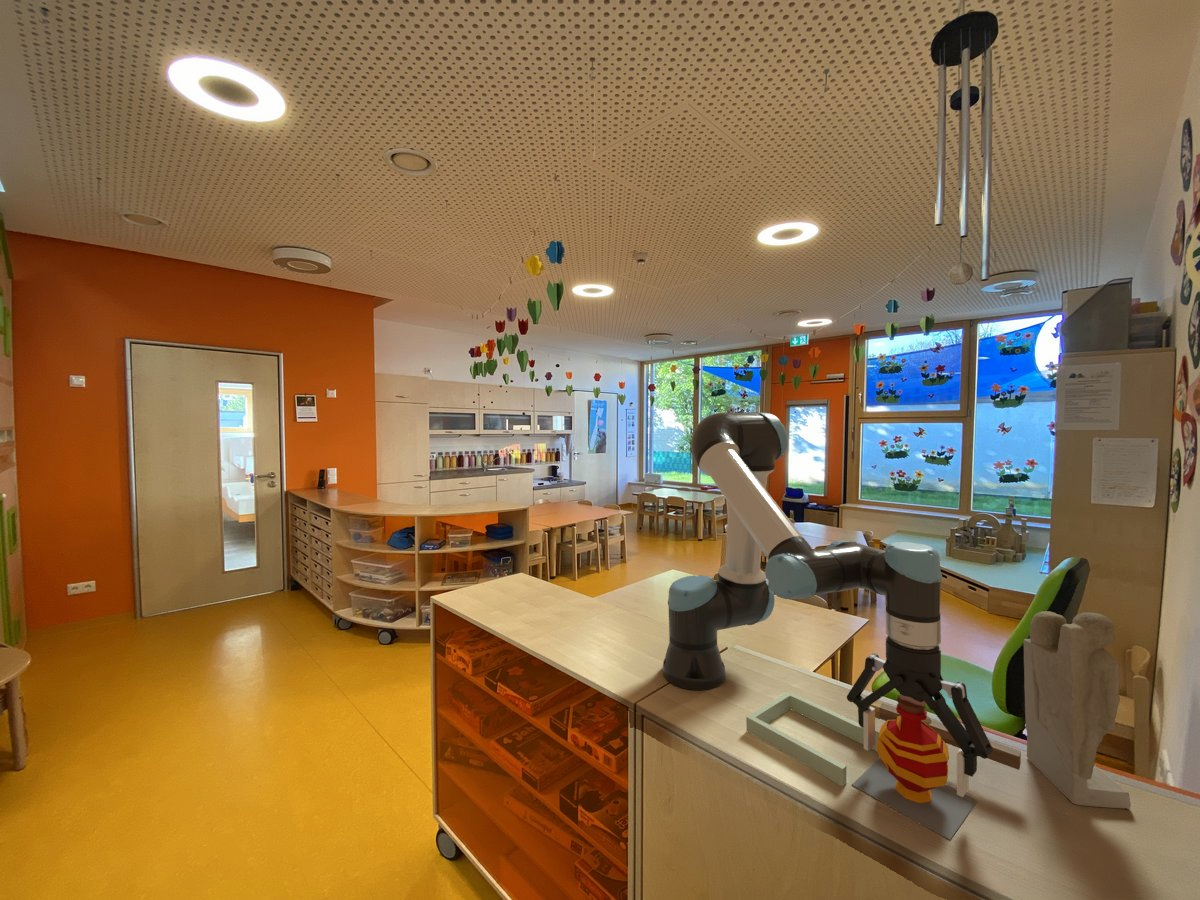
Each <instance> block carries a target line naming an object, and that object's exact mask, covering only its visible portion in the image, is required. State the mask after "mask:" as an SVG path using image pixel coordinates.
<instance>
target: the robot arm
mask: <svg viewBox="0 0 1200 900" xmlns="http://www.w3.org/2000/svg"><path fill="white" fill-rule="evenodd" d="M693 430H694V431H693V433H692V436H691V441H690V449H691V455H692V458H693V460H694V461H695V464H696V466H697V467H698V469H699V470H700V471H701V473H702V474H704V475H705V476H709V477H710V478H711V479H712V481H713V482H714V484H715V485H716V486H717V488H718V490H719V491H720V493H721V494H722V495H723V496H724V498H725V500H726V501H727V502H728V509H727V510H728V512H727V524H726V525H727V526H726V527H727V528H726V541H725V542H726V543H725V556H724V558H725V559H724V564H723V565H721V566H720V567H719V568H718V570H717V572H718V573H717V580H715V579H714V578H713V577H710V576H708V575H702V574H701V575H697V576H696V575H688V576H684V577H681V578H679V579H676V580H675V581H673V582H672V583H671V585H670V586H669V588H668V599H667V605H668V631H669V633H668V635H669V640H668V641H669V642H668V646H667V648H666V653H665V658H664V659H663V663H662V675H663V677H664V679H665V680H666V681H668V683H670V684H671V685H674V686H676V687H678V688H680V689H681V688H682V689H686V690H693V691H705V690H711V689H714V688H717V687H718V686H720V685H722V684H723V683H724V682H725V679H726V666H725V663H724V661H722V660H723V659H722V656H721V651H720V649H719V645H718V631H720V630H726V629H732V628H737V627H742V626H753V625H756V624H758V623H761V622H764V621H765V620H767V619H768V618H770V617H771V615H772V613H773V610H774V608H775V595H776V596H777V597H778V598H781V599H782V600H783V599H784V600H798V599H801V600H802V599H808V598H810V597H814V596H819V595H820V596H821V595H824V594H825V595H826V594H829V593H830V594H831V593H832V594H833V593H839V592H845V591H850V590H855V589H862V590H866V591H868V592H872V593H874V594H877V595H881V596H884V598H885V599H884V600H885V601H884V602H885V634H886V635H887V636H886V637H885V658H886V659H885V660H884V659H882V658H880V656H879V655H878V654H877V653H872V654H870V655H869V656H867V657H866V658H865V660H864V661H865V663H864V669H863V670H862V672H861V673H860V675H859V677H858V678H857V679H856V681H855V682H854V684H853V686H851V689H850V690H849V692H848V694H847V695H846V700H847V701H848V702H850V703H853V704H854V705H856V707H857V709H858V712H857V714H858V715H857V716H858V717H857V720H858V721H857V723H859V726H861V727H863V728H864V745H863V749H864V750H866V751H870V750H871V748H872V747H873V746H874V745H875V731H876V718H875V708H873V707H869V706H870V705H871V704H873V703H874V702H875V701H879V700H880V699H881V698H883V697H884V696H885V695H887V694H889V693H890V692H891V691H894V689H895V690H896V692H898V693H899V696H900V695H903V696H907V697H911V698H913V699H914V700H916V701H919V702H922V701H924V702H925V705H926V706H927V707H928V708H929V709H930V711H933V712H934V713H935V715H936V717H937V719H939V720H940V721H939V722H940V723H942V724H943V725H944V726H945V728H946V729H947V730H948V732H949V733H950V735H951V736H952V737H953V739H954V740H955V741H956V743H957V744H958V746H959V747H960V748H958V751H956V790H957V795H959V796H961V797H963V796H964V795H965V794H966V795H967V793H968V791H969V789H970V777H971V778H972V777H973V776H974V775H975V774H976V773H977V770H978V757H980V758H982V759H984V760H985V759H988V758H987V757H988V756H989V755H990V753H991V752H992V751H993V748H992V746H991V744H990V742H989V740H990V739H989V738H988V736H987V734H986V732H985V729H984V728H983V726H982V724H981V722H980V720H979V718H978V716H977V715H976V712H975V711H974V708H973V707H972V704H971V702H970V701H969V699H968V693H967V686H966V684H965V683H964V682H962V681H957V682H956V683H954V682H952V681H951V682H950V681H946V680H944V679H943V676H942V673H941V672H942V648H941V646H940V644H941V643H942V638H941V637H942V634H941V632H942V621H941V619H942V618H941V592H942V591H941V589H942V580H943V579H942V578H943V574H942V572H941V559H940V553H939V552H938V550H937V549H936V548H934V547H932V546H930V545H927V544H922V543H914V542H910V541H895V542H890V543H888V544H887V545H886V546H885V550H884V549H880V548H877V547H872V546H868V545H865V544H862V543H860V542H859V543H858V542H856V541H851V540H849V541H846V540H834V541H833V542H831V543H830V544H829V545H828V546H827V545H826V548H820V549H813V547H812V546H811V545H810V543H809V542H808V541H807V540H806V539H805V537H803V535H802V534H801V533H800V531H799V530H798V528H796V526H795V525H794V524H793V522H792V521H791V520H790V518H789V517H788V516H787V515H786V514H785V512H784V511H783V510H782V509H781V507H780V506H779V505H778V503H777V502H776V501H775V499H773V497H772V495H771V494H770V493H769V492H768V490H767V483H768V482H767V481H768V476H769V475H770V474H772V473H773V472H774V471H775V465H776V461H778V460H780V458H782V457H783V456H784V454H786V452H787V450H788V449H787V448H788V443H789V442H788V441H789V439H788V433H787V430H786V427H785V425H784V424H783V423H782V422H781V419H779V418H778V417H777V416H776V415H774V414H772V413H770V412H759V411H749V412H715V413H712V414H709V415H708V416H705V418H703V419H702V420H701V421H700V422H699V423H698V424H697V425H696V426H695V428H694V429H693ZM762 553H763V555H764V556H765V557H766V559H767V562H766V565H765V569H764V571H765V572H764V571H763V570H762V569H761V560H762ZM881 669H883V672H884V673H885V674H886V675H885V676H887V678H888V679H889V680H888V681H886V682H885V683H884V684H883V685H881V686H879V687H878V688H877V689H875V690H874V691H873V692H871V693H870V694H868V695H867V696H865V697H863V696H862V693H864V690H865V689H866V688H867V686H868V685H869V684H870V681H871V680H872V679H873V677H874V675H875V674H876V672H879V671H880V670H881ZM942 690H944V691H945V692H946V694H947V697H948V698H949V699H951V701H952V704H953V707H954V708H955V711H956V713H957V714H958V717H959V718H960V720H959V719H958V717H957V716H956V714H954V712H953V710H952V709H951V708H950V706H949V705H948V704H947V702H946V701H947V700H946V698H945V697H944V696H943V694H942V693H941V691H942Z"/></svg>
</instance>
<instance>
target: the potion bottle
mask: <svg viewBox="0 0 1200 900" xmlns="http://www.w3.org/2000/svg"><path fill="white" fill-rule="evenodd" d="M896 701H897V704H896V711H897V713H899V714H900V715H901V716H897V720H887V721H885V722H884V723H883V724H881V727H880V729H879V731H878V732H879V736H878V741H877V747H876V750H877V751H876V752H877V754H878V756H879V758H881V762H882V763H883V764H884V766H885V767H886V769H887V771H889V773H891V774H892V775H893V776H894V777H895V778H896V779H897V780H898V781H896V787H895V789H896V790H897V791H898V792H899V793H900V794H901V795H902V796H903V797H904V798H906V799H909V800H912V801H915V802H918V803H925V802H930V801H931V800H932V793H931V792H930V790H931V789H934V788H937V787H939V786H945V785H947V781H948V778H949V765H948V762H949V759H950V755H949V754H950V753H949V745H947V743H945V742H944V741H943V740H942V739H941V737H940V735H939V734H938V733H937V732H936V731H934V730H933V729H932V728H931V727H929V726H928V725H927V724H926V723H924V722H923V721H921V720H926V718H927V716H928V712H927V710H926V709H925V708H926V703H925V701H922V702H919V701H916V700H914V699H913V698H911V697H907V696H903V695H900V694H899V695H897V698H896ZM901 717H902V719H901Z"/></svg>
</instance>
